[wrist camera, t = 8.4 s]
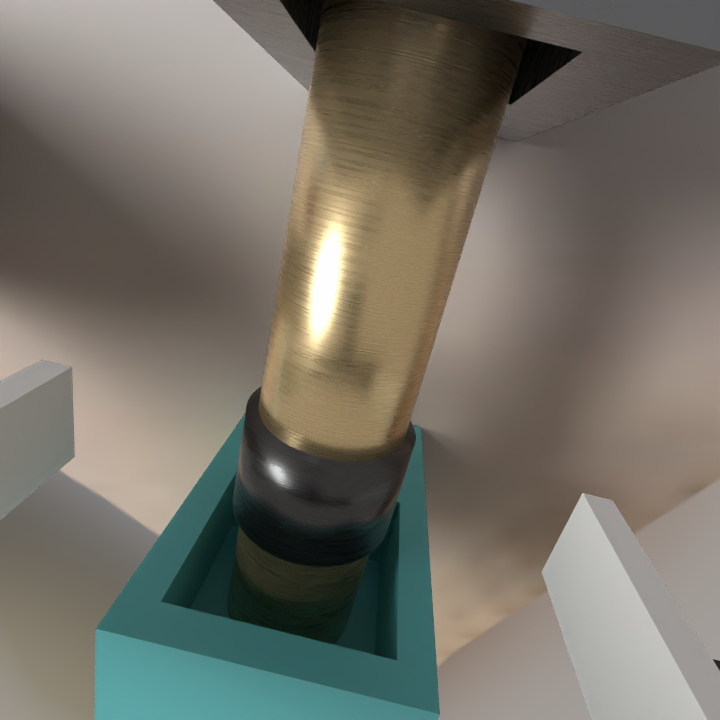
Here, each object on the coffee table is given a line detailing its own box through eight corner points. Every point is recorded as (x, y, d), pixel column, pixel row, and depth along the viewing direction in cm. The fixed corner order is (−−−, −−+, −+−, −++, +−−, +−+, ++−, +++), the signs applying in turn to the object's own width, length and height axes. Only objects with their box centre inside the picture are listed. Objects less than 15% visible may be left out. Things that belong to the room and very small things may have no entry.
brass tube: (341, -43, 11) (299, -195, 6) (534, 4, 11) (622, -116, 6) (245, 532, 17) (192, 649, 13) (364, 562, 17) (351, 688, 13)
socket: (262, 388, 22) (95, 628, 10) (421, 427, 22) (439, 714, 10) (251, 455, 24) (94, 734, 12) (400, 492, 24) (395, 809, 12)
